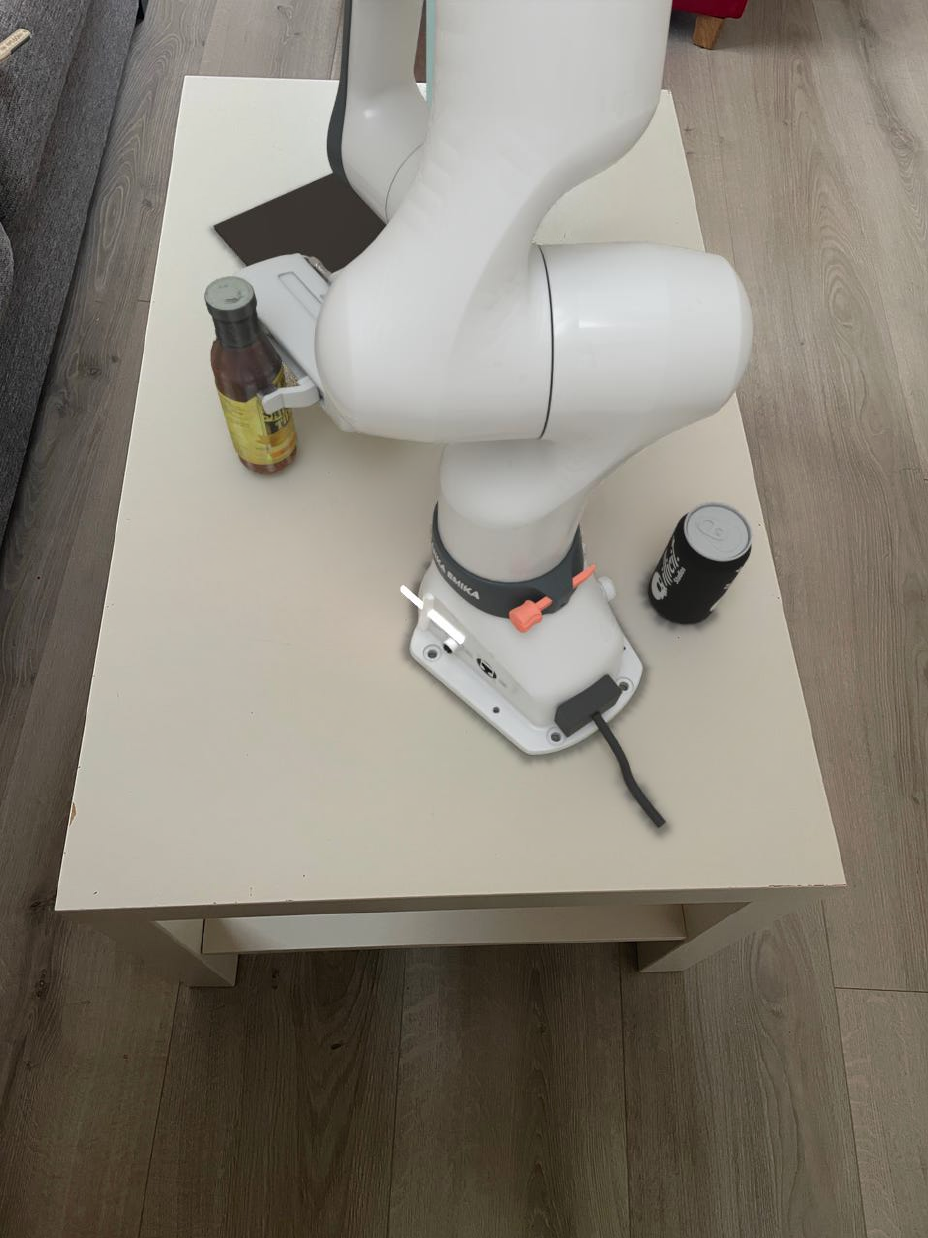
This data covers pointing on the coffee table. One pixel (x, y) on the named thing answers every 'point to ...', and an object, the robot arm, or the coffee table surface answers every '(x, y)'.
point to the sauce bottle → (248, 377)
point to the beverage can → (700, 562)
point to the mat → (305, 226)
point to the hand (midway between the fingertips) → (239, 377)
